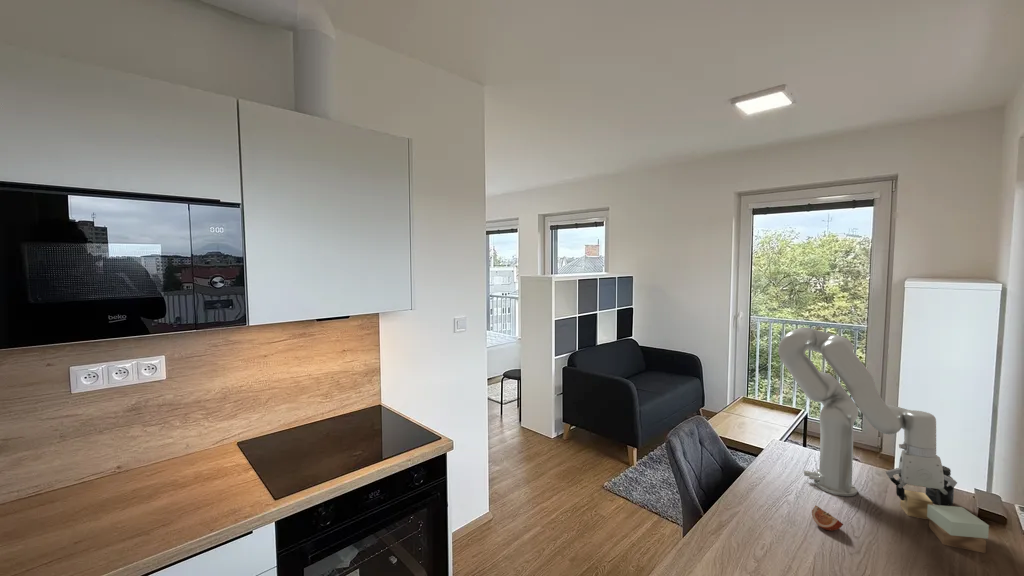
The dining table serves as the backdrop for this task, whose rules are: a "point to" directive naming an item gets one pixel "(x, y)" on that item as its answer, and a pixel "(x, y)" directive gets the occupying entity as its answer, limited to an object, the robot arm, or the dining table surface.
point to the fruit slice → (825, 519)
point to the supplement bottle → (932, 492)
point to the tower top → (957, 521)
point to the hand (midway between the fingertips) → (920, 501)
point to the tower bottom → (958, 539)
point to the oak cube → (915, 504)
